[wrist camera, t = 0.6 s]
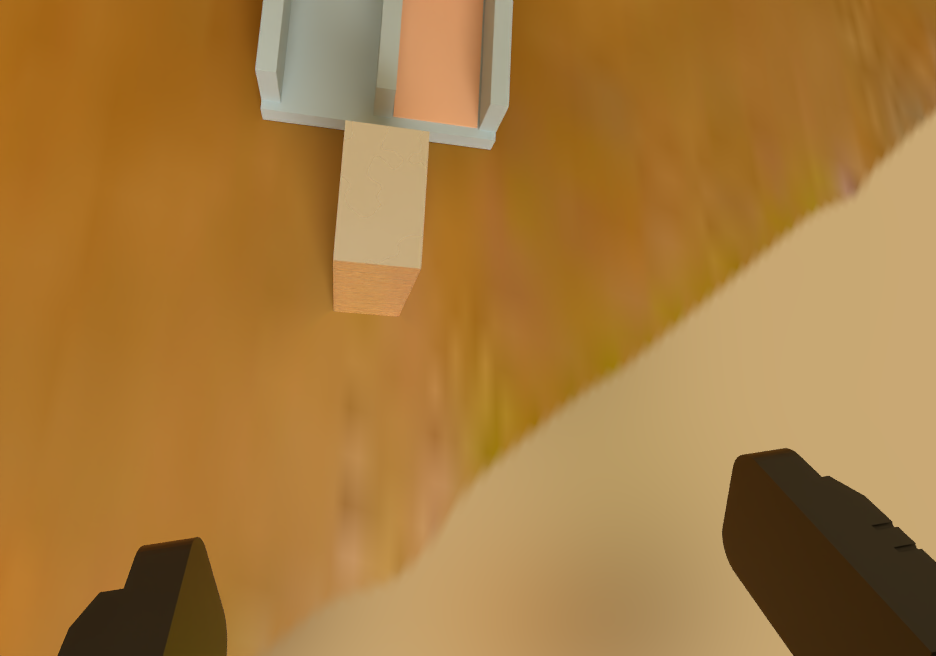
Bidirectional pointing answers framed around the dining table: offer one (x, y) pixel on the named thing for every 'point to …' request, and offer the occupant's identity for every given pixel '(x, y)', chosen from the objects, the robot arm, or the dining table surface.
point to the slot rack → (388, 65)
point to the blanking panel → (379, 218)
